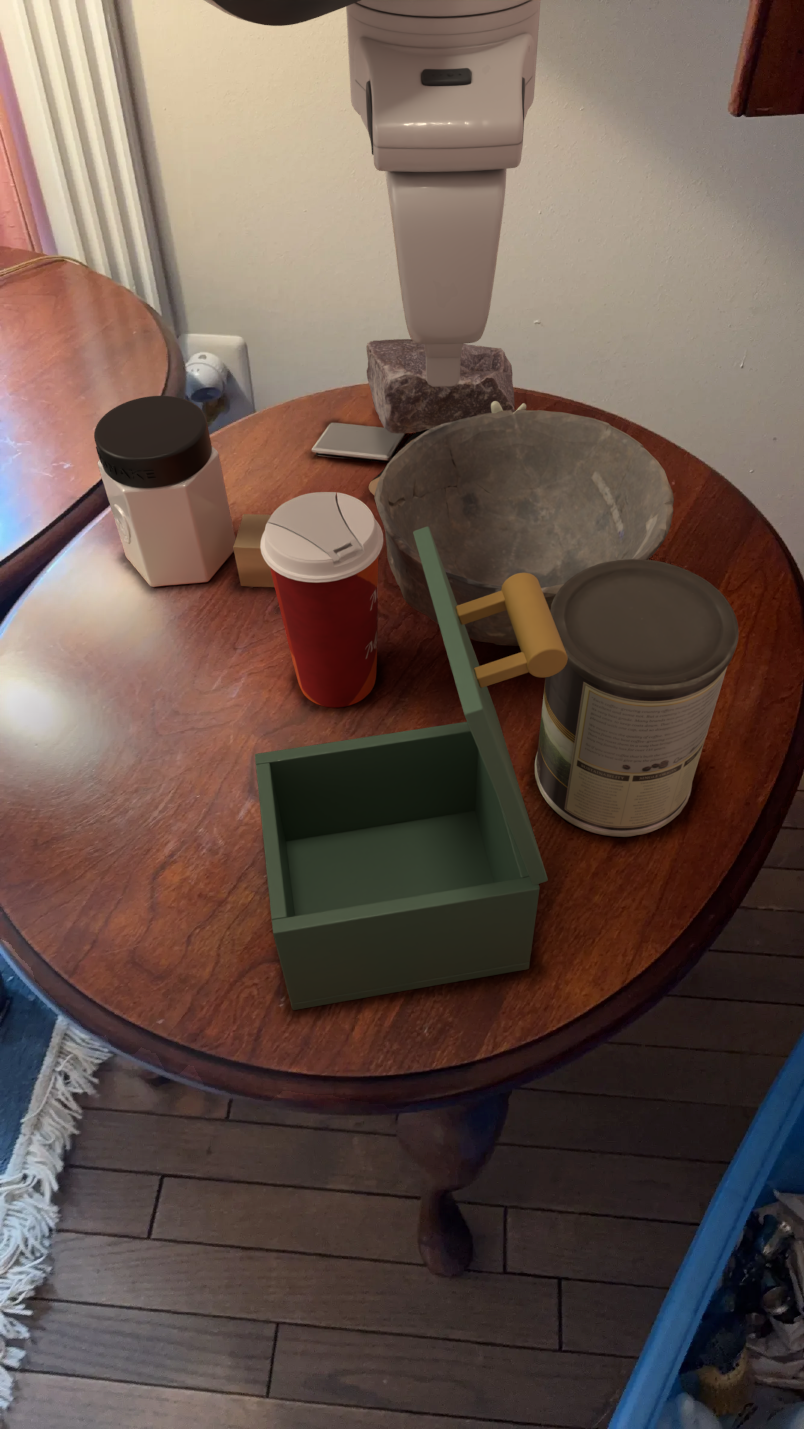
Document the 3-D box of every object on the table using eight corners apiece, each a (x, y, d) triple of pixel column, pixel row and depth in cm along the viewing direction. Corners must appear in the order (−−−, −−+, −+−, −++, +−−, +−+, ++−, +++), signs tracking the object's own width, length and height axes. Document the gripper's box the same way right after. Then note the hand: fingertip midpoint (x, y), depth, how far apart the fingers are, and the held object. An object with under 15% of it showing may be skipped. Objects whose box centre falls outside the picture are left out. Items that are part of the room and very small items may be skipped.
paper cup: (412, 687, 73) (406, 532, 63) (319, 736, 71) (297, 583, 60) (352, 625, 78) (338, 470, 67) (263, 668, 75) (234, 514, 64)
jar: (111, 545, 85) (71, 417, 76) (199, 506, 88) (171, 379, 79) (161, 605, 80) (125, 476, 71) (253, 562, 83) (229, 433, 74)
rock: (527, 377, 97) (535, 256, 83) (505, 510, 92) (511, 405, 78) (381, 363, 99) (366, 241, 85) (353, 493, 94) (332, 386, 80)
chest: (292, 1011, 58) (272, 933, 51) (273, 840, 65) (254, 753, 59) (529, 969, 59) (540, 888, 52) (484, 806, 67) (488, 717, 60)
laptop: (388, 446, 88) (389, 467, 90) (407, 416, 92) (408, 436, 94) (309, 438, 90) (312, 459, 92) (331, 408, 94) (333, 428, 95)
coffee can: (501, 775, 68) (511, 621, 57) (599, 691, 73) (626, 534, 62) (627, 868, 63) (664, 719, 52) (724, 772, 68) (776, 616, 57)
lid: (464, 714, 41) (580, 676, 40) (412, 530, 49) (510, 496, 48) (533, 886, 52) (625, 857, 52) (482, 714, 60) (562, 688, 59)
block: (291, 588, 81) (285, 548, 78) (240, 586, 81) (232, 546, 78) (299, 554, 83) (293, 515, 80) (250, 553, 84) (242, 513, 80)
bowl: (539, 480, 88) (548, 374, 81) (711, 617, 77) (741, 510, 69) (330, 573, 81) (318, 468, 74) (486, 741, 70) (491, 636, 62)
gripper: (378, -4, 56) (386, 251, 66) (372, 146, 42) (383, 437, 53) (495, -7, 55) (485, 249, 66) (527, 143, 42) (507, 435, 53)
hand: (440, 334), depth 59 cm, fingers open, 8 cm apart
